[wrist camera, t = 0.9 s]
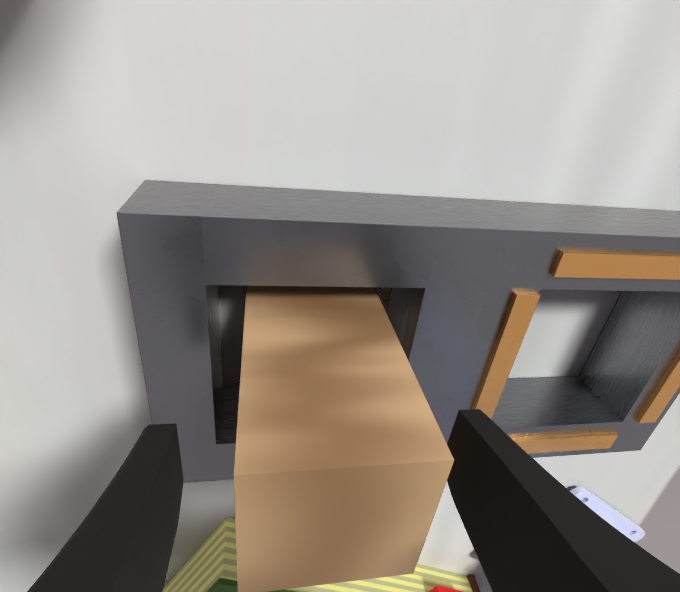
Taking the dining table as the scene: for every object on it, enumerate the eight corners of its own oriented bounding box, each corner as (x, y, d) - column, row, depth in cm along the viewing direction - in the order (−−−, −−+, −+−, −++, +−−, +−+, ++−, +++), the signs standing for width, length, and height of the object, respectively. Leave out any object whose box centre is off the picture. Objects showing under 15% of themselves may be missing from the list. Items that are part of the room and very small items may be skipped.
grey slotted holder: (705, 212, 16) (789, 244, 13) (597, 404, 21) (643, 453, 18) (144, 180, 12) (114, 215, 10) (176, 423, 17) (161, 489, 15)
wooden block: (367, 272, 15) (454, 460, 8) (353, 363, 17) (413, 573, 10) (247, 270, 14) (233, 475, 7) (248, 365, 16) (237, 594, 9)
